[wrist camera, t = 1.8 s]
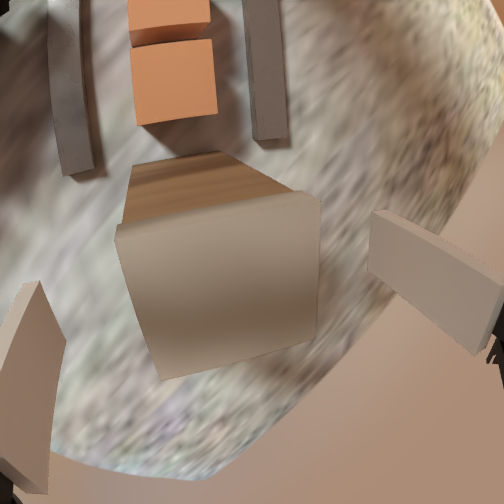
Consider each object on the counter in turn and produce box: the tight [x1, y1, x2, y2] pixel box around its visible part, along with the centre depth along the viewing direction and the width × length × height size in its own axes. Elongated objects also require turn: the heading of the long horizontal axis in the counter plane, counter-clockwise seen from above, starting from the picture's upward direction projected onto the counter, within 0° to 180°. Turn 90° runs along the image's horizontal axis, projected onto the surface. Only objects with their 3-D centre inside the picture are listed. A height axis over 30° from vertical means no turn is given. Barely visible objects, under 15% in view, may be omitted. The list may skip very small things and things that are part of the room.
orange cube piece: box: [128, 0, 211, 46], centre depth 13 cm, size 4×4×4 cm
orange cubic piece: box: [130, 39, 218, 126], centre depth 15 cm, size 4×4×4 cm
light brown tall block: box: [114, 151, 321, 381], centre depth 15 cm, size 5×6×12 cm
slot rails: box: [47, 0, 288, 176], centre depth 15 cm, size 12×14×1 cm
